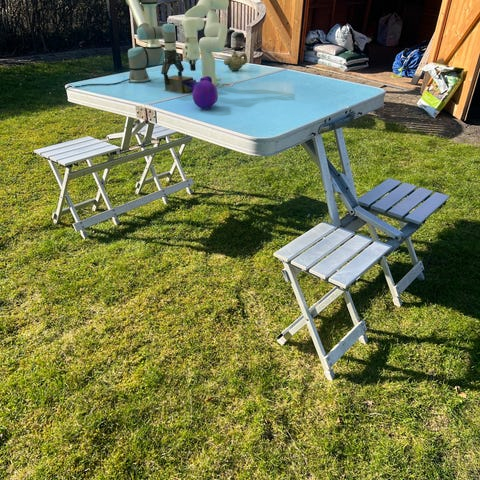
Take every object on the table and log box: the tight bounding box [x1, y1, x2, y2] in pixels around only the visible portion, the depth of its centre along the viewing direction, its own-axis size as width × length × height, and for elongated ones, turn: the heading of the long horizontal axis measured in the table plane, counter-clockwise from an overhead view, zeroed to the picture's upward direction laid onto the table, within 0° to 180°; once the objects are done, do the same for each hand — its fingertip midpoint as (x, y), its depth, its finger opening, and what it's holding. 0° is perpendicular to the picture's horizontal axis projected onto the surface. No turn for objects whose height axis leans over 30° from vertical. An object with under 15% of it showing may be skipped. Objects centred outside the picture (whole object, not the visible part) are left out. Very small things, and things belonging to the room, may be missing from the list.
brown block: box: [163, 74, 194, 94], centre depth 307 cm, size 17×11×8 cm, turn 53°
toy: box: [181, 76, 219, 110], centre depth 265 cm, size 16×18×27 cm
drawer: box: [183, 79, 197, 93], centre depth 303 cm, size 21×10×6 cm, turn 53°
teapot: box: [223, 50, 248, 72], centre depth 366 cm, size 21×12×15 cm, turn 120°
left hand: (173, 83), depth 309 cm, fingers open, 12 cm apart
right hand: (193, 70), depth 294 cm, fingers closed
